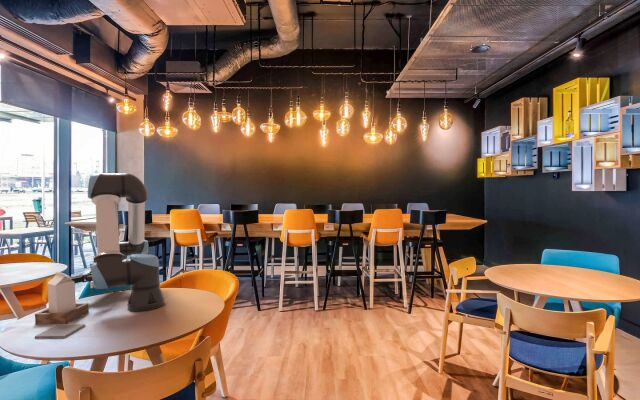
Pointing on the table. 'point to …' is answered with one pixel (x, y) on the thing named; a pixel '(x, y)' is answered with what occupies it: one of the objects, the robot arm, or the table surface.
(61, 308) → the milk carton
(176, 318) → the table surface
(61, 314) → the walnut holder
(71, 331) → the slate pad
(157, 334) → the table surface
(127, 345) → the table surface
